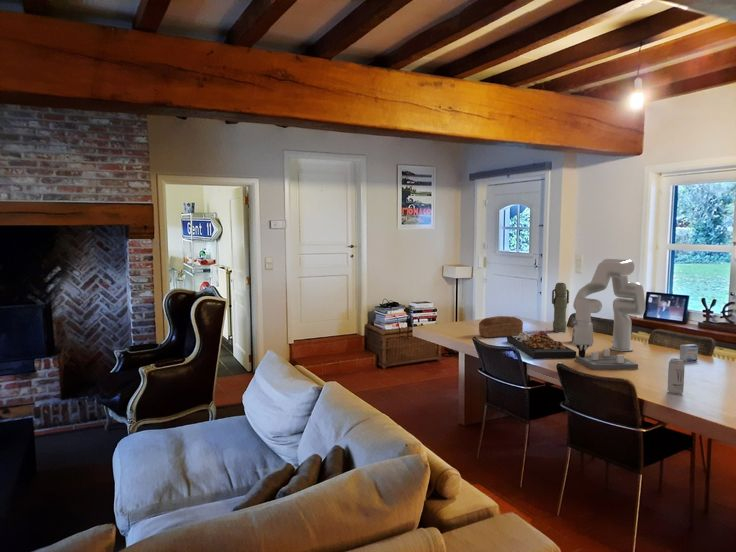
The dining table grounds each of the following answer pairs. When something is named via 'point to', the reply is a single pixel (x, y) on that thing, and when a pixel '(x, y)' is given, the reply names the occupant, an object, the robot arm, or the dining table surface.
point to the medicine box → (688, 352)
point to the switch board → (606, 363)
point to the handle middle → (595, 355)
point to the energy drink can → (676, 376)
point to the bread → (500, 326)
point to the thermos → (560, 307)
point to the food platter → (540, 346)
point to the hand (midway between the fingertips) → (581, 356)
